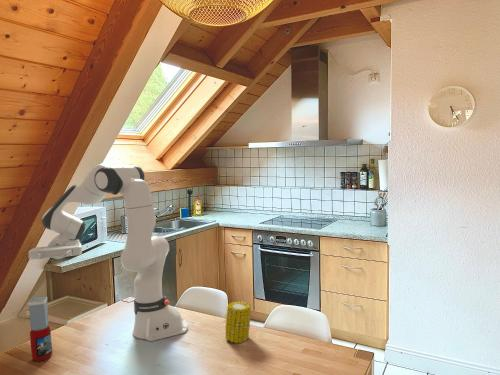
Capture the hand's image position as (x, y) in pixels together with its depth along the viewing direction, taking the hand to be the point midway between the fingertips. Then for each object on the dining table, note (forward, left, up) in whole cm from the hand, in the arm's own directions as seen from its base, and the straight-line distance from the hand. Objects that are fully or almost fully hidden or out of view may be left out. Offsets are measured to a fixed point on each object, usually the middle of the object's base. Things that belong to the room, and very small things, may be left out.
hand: (53, 256), depth 162 cm
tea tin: (+3, +16, -22) cm, 27 cm away
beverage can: (+3, +16, -34) cm, 38 cm away
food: (-69, +27, -34) cm, 82 cm away
